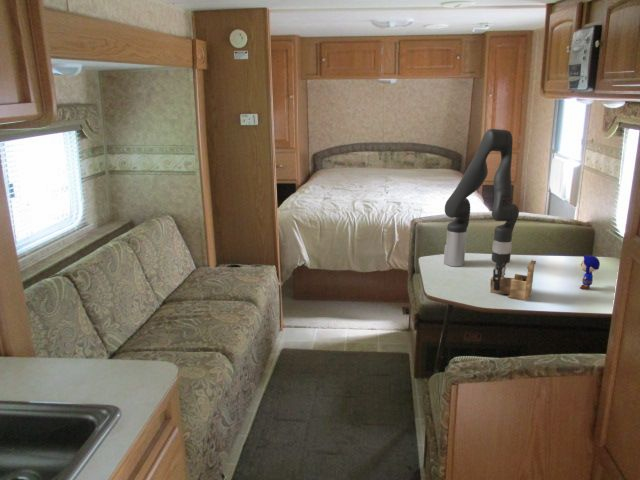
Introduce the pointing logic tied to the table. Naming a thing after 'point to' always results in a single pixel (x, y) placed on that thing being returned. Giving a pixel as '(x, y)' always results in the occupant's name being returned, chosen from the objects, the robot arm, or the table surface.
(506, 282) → the light brown wooden block
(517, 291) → the wooden chair
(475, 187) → the robot arm
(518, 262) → the table surface
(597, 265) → the toy
